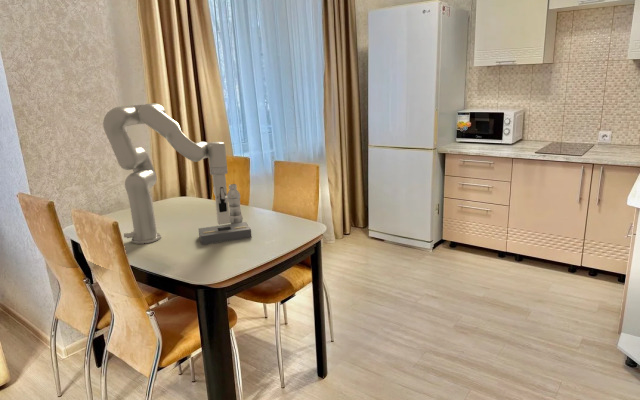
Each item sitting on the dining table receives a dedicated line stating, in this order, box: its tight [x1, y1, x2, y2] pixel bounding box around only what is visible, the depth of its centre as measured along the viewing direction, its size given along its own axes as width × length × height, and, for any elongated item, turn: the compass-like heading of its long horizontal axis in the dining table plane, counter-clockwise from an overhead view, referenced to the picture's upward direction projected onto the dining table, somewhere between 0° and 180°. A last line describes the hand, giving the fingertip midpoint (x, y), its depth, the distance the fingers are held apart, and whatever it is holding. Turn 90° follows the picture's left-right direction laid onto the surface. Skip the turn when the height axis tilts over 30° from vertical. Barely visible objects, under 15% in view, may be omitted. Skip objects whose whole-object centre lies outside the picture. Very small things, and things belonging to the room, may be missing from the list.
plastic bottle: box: [227, 183, 244, 224], centre depth 218 cm, size 6×7×20 cm
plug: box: [214, 195, 231, 226], centre depth 198 cm, size 5×4×16 cm
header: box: [198, 221, 253, 246], centre depth 201 cm, size 22×12×4 cm, turn 110°
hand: (222, 209), depth 199 cm, fingers closed on plug, 4 cm apart
